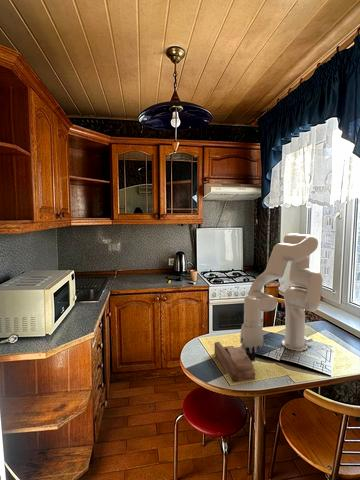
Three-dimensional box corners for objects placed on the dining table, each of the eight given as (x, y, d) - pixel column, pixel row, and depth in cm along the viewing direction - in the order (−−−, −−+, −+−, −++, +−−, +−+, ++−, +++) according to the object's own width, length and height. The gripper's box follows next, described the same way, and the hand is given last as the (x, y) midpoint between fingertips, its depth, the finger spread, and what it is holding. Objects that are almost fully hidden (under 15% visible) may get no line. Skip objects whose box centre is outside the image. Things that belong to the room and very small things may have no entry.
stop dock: (232, 351, 138) (232, 340, 138) (255, 379, 115) (255, 365, 114) (214, 353, 136) (214, 342, 136) (233, 382, 113) (233, 369, 112)
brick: (253, 374, 119) (253, 364, 118) (235, 375, 118) (235, 365, 118) (242, 355, 135) (243, 346, 135) (226, 356, 135) (226, 347, 134)
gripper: (262, 317, 131) (262, 353, 132) (234, 320, 128) (233, 357, 129) (270, 323, 123) (270, 361, 125) (240, 327, 120) (240, 365, 122)
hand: (251, 359), depth 127 cm, fingers closed
